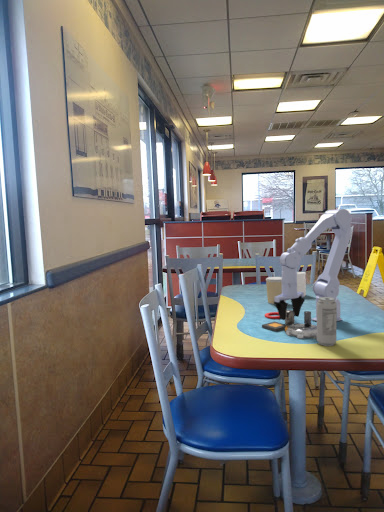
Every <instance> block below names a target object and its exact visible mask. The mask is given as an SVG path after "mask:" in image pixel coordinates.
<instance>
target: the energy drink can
mask: <svg viewBox="0 0 384 512" xmlns="http://www.w3.org/2000/svg"><path fill="white" fill-rule="evenodd" d="M337 322H338V321H337V304H336V302H335V300H334V298H332V297H319V300H318V302H317V321H316V326H317V338H316V341H317V342H318V344H319V345H320V346H324V347H333V346H335V344H336V343H337Z"/></svg>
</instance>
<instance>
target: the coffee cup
mask: <svg viewBox="0 0 384 512" xmlns="http://www.w3.org/2000/svg"><path fill="white" fill-rule="evenodd" d="M265 282H266V283H265V286H266V293H267V303H268V304H271V305H275V304H274V297H275V296H278V295H280V294H282V276H269V277H266V278H265Z"/></svg>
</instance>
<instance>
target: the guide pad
mask: <svg viewBox="0 0 384 512" xmlns="http://www.w3.org/2000/svg"><path fill="white" fill-rule="evenodd" d="M286 326H290V325H286V324H285V323H282V322H278V321H272V322H268V323H264V324H262V325H261V328H263V329H266V330H269V331H273V332H279V331H282V330H285V327H286Z"/></svg>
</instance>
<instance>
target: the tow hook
mask: <svg viewBox="0 0 384 512" xmlns="http://www.w3.org/2000/svg"><path fill="white" fill-rule="evenodd" d="M284 302H285V303H287V300H285V301H284ZM286 310H288V309H286ZM264 317H265V318H266V319H270V320H275V319H277V320H279V319H280V316H279V313H278V311H272V312H266V313H265V314H264Z"/></svg>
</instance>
